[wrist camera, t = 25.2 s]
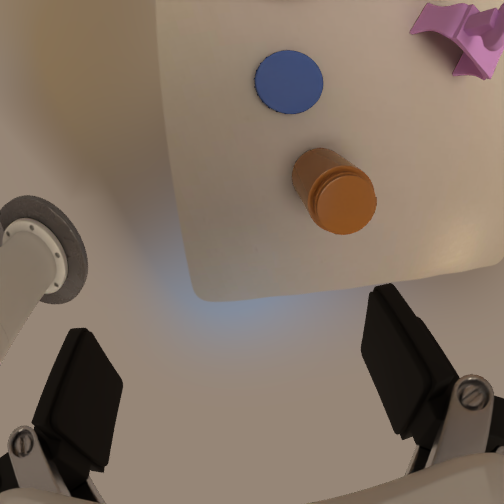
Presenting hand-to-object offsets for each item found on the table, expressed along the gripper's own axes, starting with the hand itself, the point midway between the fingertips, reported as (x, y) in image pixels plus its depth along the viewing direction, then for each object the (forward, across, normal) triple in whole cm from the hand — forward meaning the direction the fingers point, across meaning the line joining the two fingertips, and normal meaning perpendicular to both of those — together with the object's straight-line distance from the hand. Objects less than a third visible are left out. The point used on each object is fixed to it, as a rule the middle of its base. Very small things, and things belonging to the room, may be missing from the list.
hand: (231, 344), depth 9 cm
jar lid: (+24, -8, -8) cm, 27 cm away
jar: (+26, -10, +3) cm, 28 cm away
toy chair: (+25, -29, -15) cm, 41 cm away
